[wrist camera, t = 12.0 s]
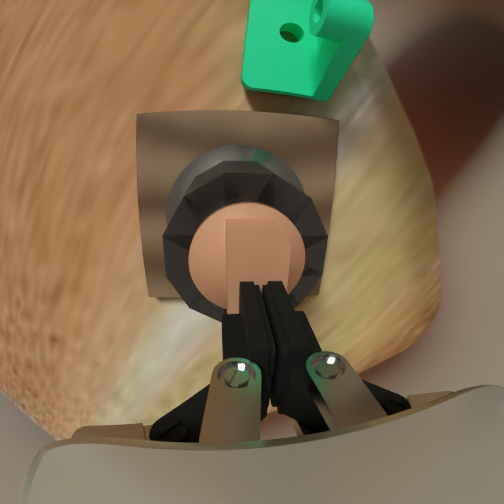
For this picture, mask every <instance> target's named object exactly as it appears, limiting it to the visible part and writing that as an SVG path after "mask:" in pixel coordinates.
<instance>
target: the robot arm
mask: <svg viewBox="0 0 504 504" xmlns="http://www.w3.org/2000/svg"><path fill="white" fill-rule="evenodd" d="M222 348H223V361H221V362H219V363H218V364H217V365H216V366H215V367H214V370H213V372H212V377H211V382H210V384H209V385H208V386H206V387H205V388H203V389H202V390H201V391H199V392H198V393H196V394H195V395H194V396H192V397H191V398H189V399H188V400H186V401H185V402H184V403H182V404H181V405H179V406H178V407H176V408H175V409H173V410H172V411H170V412H169V413H167V414H166V415H164V416H163V417H161V418H160V419H158V420H157V421H156V422H155V423H154V424H153V425H148V426H143V424H142V423H138V424H124V425H103V426H84V427H81V428H79V429H77V430H76V431H75V432H74V434H73V435H72V438H70V439H64V440H60V441H56V442H53V443H50V444H48V445H46V446H44V447H43V448H42V449H41V450H40V451H39V452H38V453H37V454H36V456H35V457H34V459H33V460H32V462H31V464H30V467H29V468H28V471H27V473H26V475H25V478H24V481H23V484H22V487H21V491H20V495H19V498H18V502H17V504H504V387H503V386H498V385H480V386H474V387H469V388H466V389H462V390H459V391H456V392H452V391H442V392H435V393H427V394H418V395H408V396H407V398H406V399H405V398H404V397H403V396H401V395H399V394H396V393H394V392H391V391H389V390H386V389H383V388H381V387H379V386H376V385H374V384H371V383H369V382H366V381H364V380H362V379H361V378H360V377H359V376H358V374H357V373H356V372H355V370H354V369H353V368H352V366H351V365H350V364H349V362H348V361H347V360H346V359H345V358H344V357H342V356H341V355H339V354H337V353H334V352H328V351H323V352H322V350H321V348H320V346H319V344H318V341H317V339H316V337H315V335H314V333H313V330H312V328H311V326H310V324H309V322H308V320H307V317H306V315H305V313H304V312H303V311H296V312H295V310H294V308H293V305H292V303H291V301H290V298H289V296H288V294H287V291H286V289H285V287H284V284H283V282H282V281H268V282H267V285H263V286H262V294H261V290H260V286H259V285H255V284H254V281H242V282H240V284H239V314H222ZM269 399H270V400H271V404H272V407H277V409H278V413H279V414H285V415H287V416H289V417H290V418H292V425H293V427H294V429H295V431H296V434H297V436H296V437H289V438H281V439H273V440H262V441H260V422H261V421H262V420H263V419H264V418H265V417H266V415H267V409H268V406H269Z"/></svg>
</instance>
